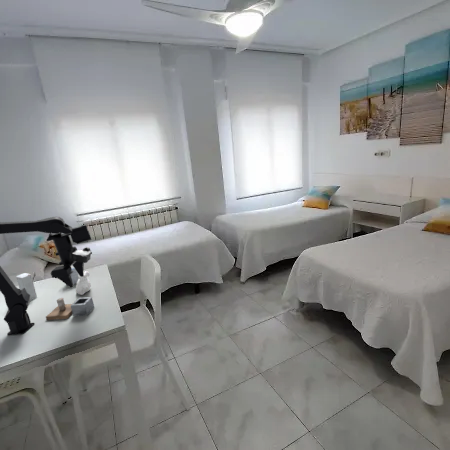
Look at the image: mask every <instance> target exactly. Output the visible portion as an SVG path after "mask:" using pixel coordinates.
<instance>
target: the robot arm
mask: <svg viewBox="0 0 450 450" xmlns="http://www.w3.org/2000/svg"><path fill="white" fill-rule="evenodd" d="M33 232H34V233H35V232H37V233H44V234H45V233H46V234H48V237H47V238H46V242H49V241H52V242H53V244H54V247H55V250H56V252H55V256H56V257H57V256H58V257H59V260H60V261H59V263H58V265H59V266H55V268H54V269H52V270H51V271H50V277H51V278H53V279H54V278H55V279H57V280H60V281H62V283H64V285H65V284H66V286H68V287H69V288H74V284H73V282H72V278H71V274H72V273H73V271H72V268H71V267H72V266H73V267H74V268H75V270H76V271H77V272H78V274H79V275H80V276H81V277H83V276H84V271H85V270H84V268H85V267H84V265H85V264H86V263H88V262H89V261H90V260H91V255H92V254H93V252H92V250H91V248H90V246H85V247H84V248H83V249H80V250H79V249H78V248H77V247H76V246H73V244H77V245H79V244H83V243H86V242H90V241H91V240H92V239H93V238H92V235H91V233H90V230H89V229H88V227H87V224H86V223H85V224H82V225H80V226H77V227H72V226H71V225H69V224H67V222H66V223H65V220H64V219H63V218H62V217H60V216H52V217H46V218H42V219H37V220H24V221H22V220H21V221H5V222H4V221H3V222H0V234H1V235H3V234H5V235H6V234H18V233H33ZM71 271H72V272H71ZM0 293H1V294H2V295H3V297H4V301H5V305H6V307H7V312H6V313H5V316H4V318H3V320H4V322H5V323H6V324H7V325H8V329H9V331H8V332H7V333H6V335H7V336H10V335H11V336H12V335H13V336H14V335H23V334H25V333H26V332H27V331H29V329H30V328H32V327H33V326H34V325H35V322H31V319H30V316H29V313H28V312H27V310H28V307H29V305H30V302H31V300H30V295H29V294H28V293H27V291H26V289H25V288H23V289H22V290H20V289H19V287H17V286H16V285H15V284H14V282H13V281H12V279H10V277H9V275H8V274H7V272H5V270H4V269H3V267H2V266H1V265H0Z"/></svg>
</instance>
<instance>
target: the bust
mask: <svg viewBox="0 0 450 450" xmlns="http://www.w3.org/2000/svg"><path fill="white" fill-rule="evenodd" d="M89 276H90V272H89V271H88V270H84V276H83V277H81V276H80V275H79V274H78V277H79V279H78V281H77V283H76V285H75V293H77V294H78V295H81V296H83V295H84V294H85V293H87V292H89V291H90V290H91V287H92V285H91V280H90V279H88V277H89Z"/></svg>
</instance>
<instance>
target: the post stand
mask: <svg viewBox="0 0 450 450" xmlns="http://www.w3.org/2000/svg"><path fill="white" fill-rule="evenodd" d="M56 302H57V306H56V307H55V308H54V309H52V311H50V312H49V313H48V314H47V315H46V316H45V319H46V321H51V320H65V319H67V320H68V319H69V318H70V317H71V316H73V313H72V309H71V305H72V304H73V303H67V304H65V301H64V298H63V297H61V298H57V299H56Z"/></svg>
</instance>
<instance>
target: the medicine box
mask: <svg viewBox="0 0 450 450" xmlns="http://www.w3.org/2000/svg"><path fill="white" fill-rule="evenodd" d="M71 268H72V271H73V273H72V274H71V278H72V282H73V285H75V284H76V285H77V281H78V279H79V277H78V272H77V271H76V270H75V268H74V267H73V265H72V266H71ZM72 271H71V272H72Z"/></svg>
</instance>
